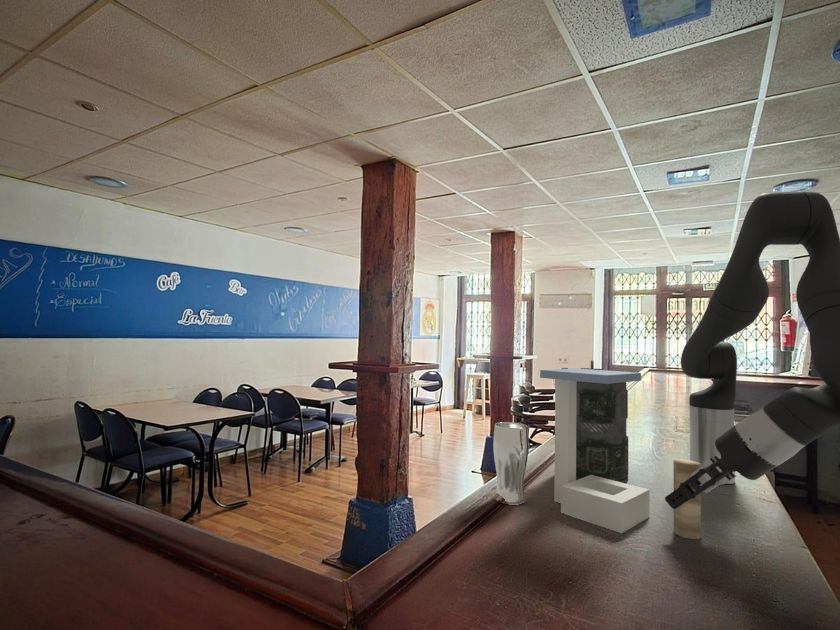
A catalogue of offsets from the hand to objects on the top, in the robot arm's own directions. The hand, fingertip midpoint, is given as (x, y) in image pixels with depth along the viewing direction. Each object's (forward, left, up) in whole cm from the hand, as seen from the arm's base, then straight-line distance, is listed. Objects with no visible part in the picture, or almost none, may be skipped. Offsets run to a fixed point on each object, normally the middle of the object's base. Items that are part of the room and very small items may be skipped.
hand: (674, 500), depth 79 cm
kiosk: (+1, -13, -5) cm, 14 cm away
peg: (0, +2, -5) cm, 5 cm away
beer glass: (+6, -28, -5) cm, 29 cm away
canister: (-20, -20, -5) cm, 29 cm away
